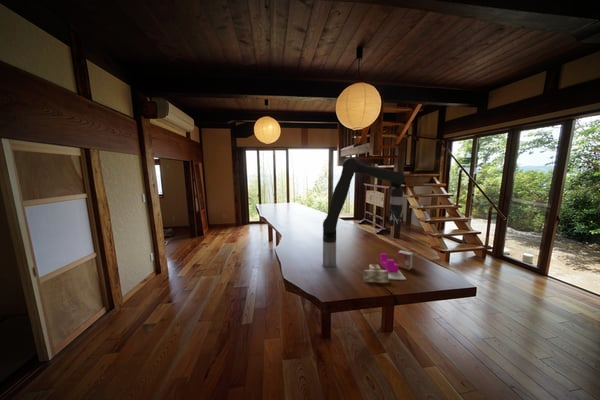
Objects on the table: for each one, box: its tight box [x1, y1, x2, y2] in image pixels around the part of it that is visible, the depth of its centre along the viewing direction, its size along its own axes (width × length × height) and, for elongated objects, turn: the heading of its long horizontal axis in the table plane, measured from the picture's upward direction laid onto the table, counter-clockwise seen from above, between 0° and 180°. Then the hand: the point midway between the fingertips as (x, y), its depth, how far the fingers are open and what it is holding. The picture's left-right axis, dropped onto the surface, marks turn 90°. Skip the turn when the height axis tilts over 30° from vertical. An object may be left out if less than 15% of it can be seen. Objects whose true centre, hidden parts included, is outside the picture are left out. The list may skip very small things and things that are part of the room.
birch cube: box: [368, 264, 381, 271], centre depth 131 cm, size 6×6×6 cm
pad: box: [380, 269, 407, 281], centre depth 130 cm, size 12×11×1 cm
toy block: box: [379, 252, 399, 272], centre depth 139 cm, size 15×6×8 cm, turn 176°
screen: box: [363, 269, 390, 284], centre depth 123 cm, size 14×3×6 cm, turn 83°
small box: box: [396, 249, 414, 271], centre depth 141 cm, size 8×6×10 cm
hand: (394, 227), depth 137 cm, fingers open, 8 cm apart
